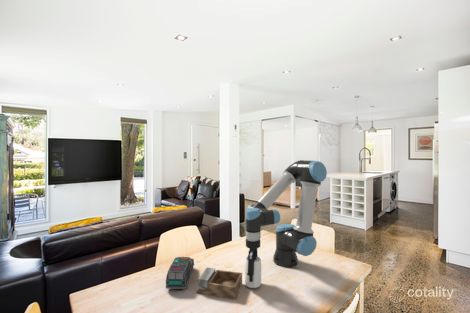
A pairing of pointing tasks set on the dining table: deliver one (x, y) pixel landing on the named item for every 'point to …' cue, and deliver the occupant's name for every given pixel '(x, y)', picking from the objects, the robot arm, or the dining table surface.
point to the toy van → (179, 273)
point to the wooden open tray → (219, 283)
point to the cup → (256, 272)
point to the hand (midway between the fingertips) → (253, 282)
